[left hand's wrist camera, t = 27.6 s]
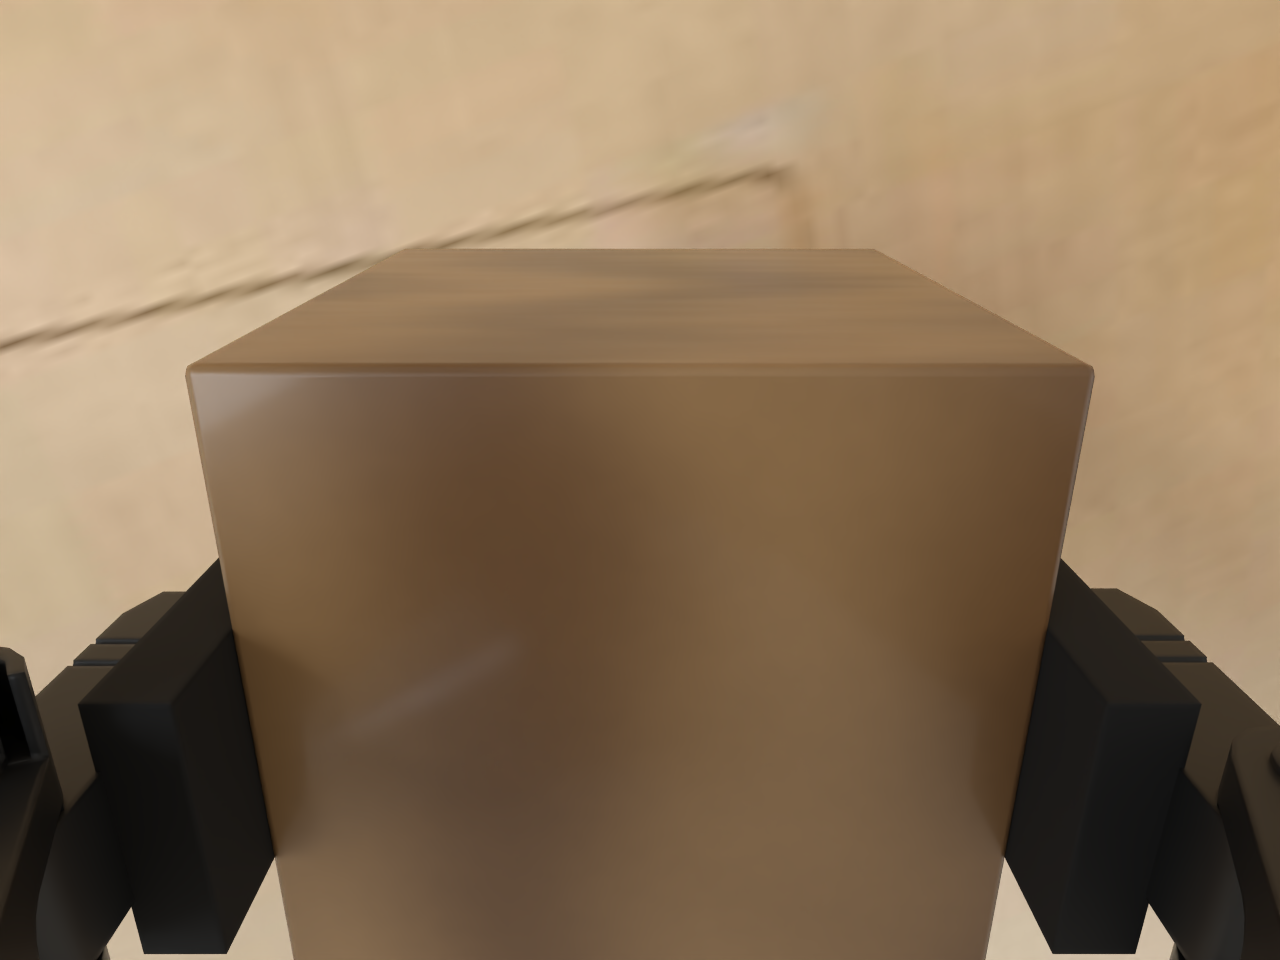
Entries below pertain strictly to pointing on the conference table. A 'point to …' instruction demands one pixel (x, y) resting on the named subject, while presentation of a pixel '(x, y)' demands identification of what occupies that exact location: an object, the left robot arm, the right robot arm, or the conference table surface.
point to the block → (639, 600)
